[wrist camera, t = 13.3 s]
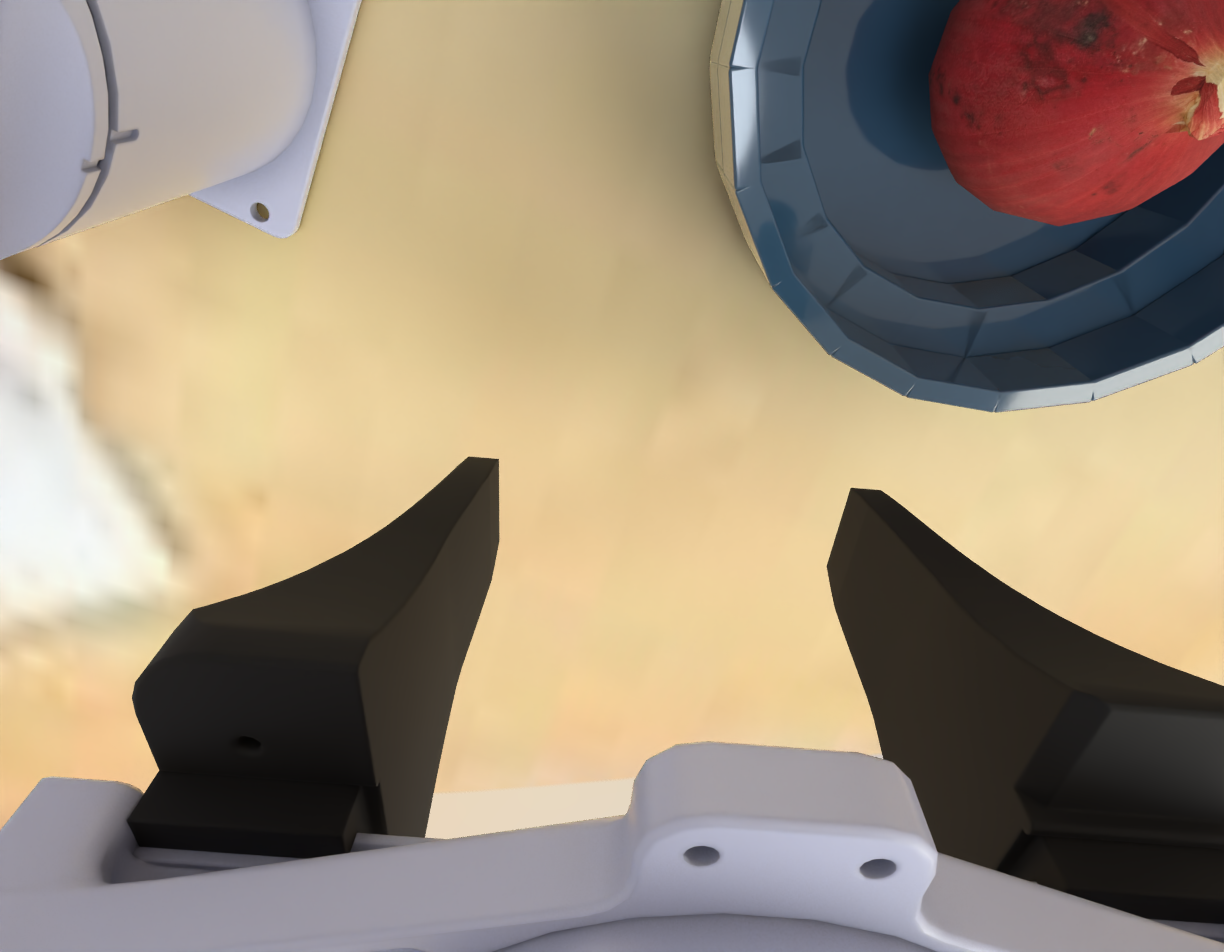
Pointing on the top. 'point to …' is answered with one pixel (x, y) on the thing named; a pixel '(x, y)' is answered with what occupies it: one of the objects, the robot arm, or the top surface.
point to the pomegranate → (1077, 101)
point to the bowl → (940, 224)
